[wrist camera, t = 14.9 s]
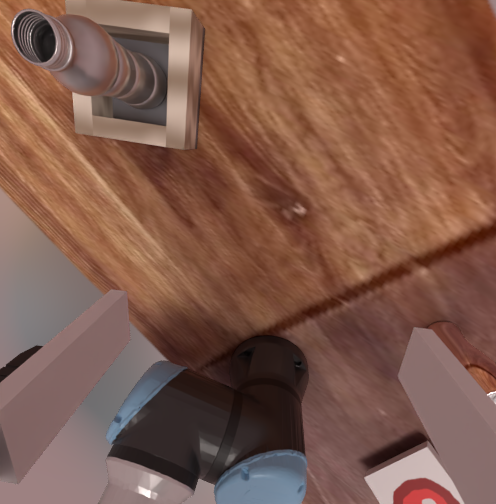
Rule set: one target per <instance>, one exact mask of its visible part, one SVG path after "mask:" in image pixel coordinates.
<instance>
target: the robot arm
mask: <svg viewBox="0 0 496 504" xmlns="http://www.w3.org/2000/svg"><path fill="white" fill-rule="evenodd" d="M129 341H130V328H129V314H128V300H127V291H120V290H112V289H111V290H110V291H109V292H108V293H106V294H105V295H104V296H103V297H102V298H100V299H99V300H98V301H97V302H96V303H95V304H93V305H92V306H91V307H90V308H89V309H88V310H86V311H85V312H84V313H83V314H81V315H80V316H79V317H78V318H77V319H76V320H74V321H73V322H72V323H71V324H70V325H69V326H67V327H66V328H65V329H64V330H62V331H61V332H60V333H59V334H58V335H57V336H55V337H54V338H53V339H52V340H51V341H49V342H48V343H47V344H46V345H45V346H35V347H33V348H31V349H29V350H27V351H25V352H23V353H21V354H19V355H18V356H17V357H15V358H14V359H13V360H12V361H10V362H9V363H8V364H6V367H3V368H1V369H0V481H3V482H8V483H14V484H19V483H20V482H21V480H22V479H23V478H24V477H25V475H26V474H27V472H28V471H29V470H30V469H31V467H32V466H33V465H34V464H35V462H36V461H37V459H38V458H39V457H40V456H41V455H42V453H43V452H44V451H45V449H46V448H47V447H48V446H49V444H50V443H51V442H52V440H53V439H54V438H55V437H56V435H57V434H58V433H59V431H60V430H61V429H62V427H63V426H64V425H65V424H66V422H67V421H68V420H69V418H70V417H71V416H72V415H73V413H74V412H75V411H76V409H77V408H78V407H79V405H80V404H81V403H82V402H83V400H84V399H85V398H86V397H87V395H88V394H89V393H90V391H91V390H92V388H94V386H95V385H96V384H97V382H98V381H99V380H100V378H101V377H102V376H103V375H104V373H105V372H106V370H107V369H108V368H109V367H110V366H111V364H112V363H113V362H114V360H115V359H116V358H117V356H118V355H119V354H120V353H121V351H122V350H123V349H124V348H125V346H126V345H127V344H128V342H129ZM229 374H230V380H231V386H232V388H231V387H229V386H227V385H224V384H222V383H219V382H217V381H215V380H212V379H210V378H208V377H206V376H203V375H201V374H199V373H197V372H194V371H192V370H190V369H188V367H186V366H184V367H182V366H180V365H177V364H174V363H171V362H169V361H159V362H157V363H155V364H153V365H152V366H151V367H150V368H149V369H148V370H147V371H146V373H145V374H144V375H143V376H142V377H141V379H140V380H139V381H138V382H137V384H136V385H135V387H134V388H133V389H132V391H131V392H130V394H129V395H128V397H127V398H126V400H125V401H124V403H123V404H122V406H121V408H120V409H119V411H118V414H117V415H116V416H115V418H114V420H113V421H112V423H111V424H110V426H109V429H108V431H107V433H106V439H107V441H108V442H109V444H111V445H112V444H114V445H113V447H112V449H111V451H110V452H109V454H108V456H107V458H106V460H105V461H106V466H107V472H108V484H107V486H106V488H105V490H104V492H103V494H102V497H101V498H100V500H99V502H98V504H182V503H183V502H184V501H186V500H187V499H188V498H190V497H191V496H193V494H194V491H195V488H196V485H197V482H198V479H202V480H204V481H207V482H209V483H211V484H214V485H215V488H214V494H215V501H216V504H301V502H302V500H303V499H304V496H305V493H306V468H307V459H306V455H305V443H304V431H303V419H302V408H301V403H302V399H303V396H304V393H305V390H306V387H307V384H308V378H309V374H308V365H307V361H306V358H305V356H304V354H303V353H302V352H301V350H300V349H299V348H298V347H297V346H295V345H294V344H293V343H291V342H289V341H287V340H285V339H282V338H279V337H274V336H259V337H254V338H251V339H249V340H247V341H245V342H243V343H242V344H241V345H240V346H238V348H237V349H236V350H235V352H234V353H233V356H232V359H231V363H230V369H229ZM398 378H399V380H400V382H401V384H402V386H403V388H404V389H405V391H406V393H407V395H408V397H409V399H410V401H411V403H412V405H413V407H414V409H415V410H416V412H417V414H418V416H419V418H420V420H421V422H422V424H423V426H424V428H425V429H426V431H427V433H428V435H429V437H430V439H431V441H432V443H433V445H434V447H435V449H436V450H437V452H438V454H439V456H440V458H441V460H442V462H443V464H444V466H445V468H446V470H447V471H448V473H449V475H450V477H451V479H452V481H453V483H454V485H455V487H456V489H457V491H458V492H459V494H460V496H461V498H462V500H463V502H464V504H496V404H495V403H494V402H493V401H492V399H491V398H490V397H489V396H488V395H487V393H486V392H485V391H484V390H483V389H482V388H481V386H480V385H479V384H478V383H477V382H476V381H475V379H474V378H473V377H472V376H471V375H470V374H469V372H468V371H467V370H466V369H465V368H464V366H463V365H462V364H461V363H460V362H459V361H458V359H457V358H456V357H455V356H454V355H453V354H452V352H451V351H450V350H449V349H448V348H447V346H446V345H445V344H444V343H443V342H442V341H441V339H440V338H439V337H438V336H437V335H436V334H435V332H434V331H433V330H432V329H424V328H416V327H414V329H413V332H412V335H411V338H410V341H409V344H408V347H407V350H406V353H405V356H404V359H403V362H402V365H401V368H400V371H399V374H398Z"/></svg>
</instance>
